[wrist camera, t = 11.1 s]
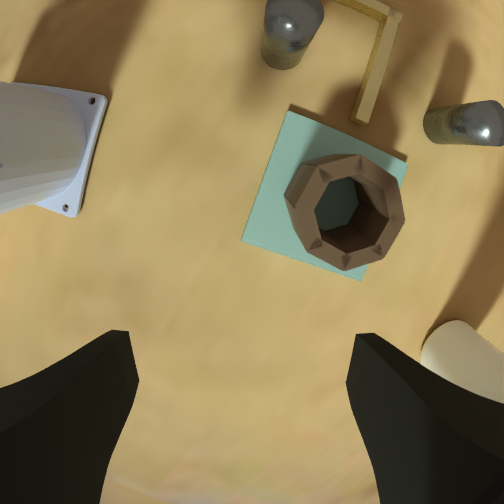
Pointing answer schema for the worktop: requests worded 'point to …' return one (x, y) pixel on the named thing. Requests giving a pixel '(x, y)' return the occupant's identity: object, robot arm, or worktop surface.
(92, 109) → the robot arm
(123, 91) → the worktop surface
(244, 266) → the worktop surface
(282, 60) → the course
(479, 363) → the drinking glass
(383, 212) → the octagonal hollow tube
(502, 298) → the worktop surface
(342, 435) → the worktop surface
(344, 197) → the pad
